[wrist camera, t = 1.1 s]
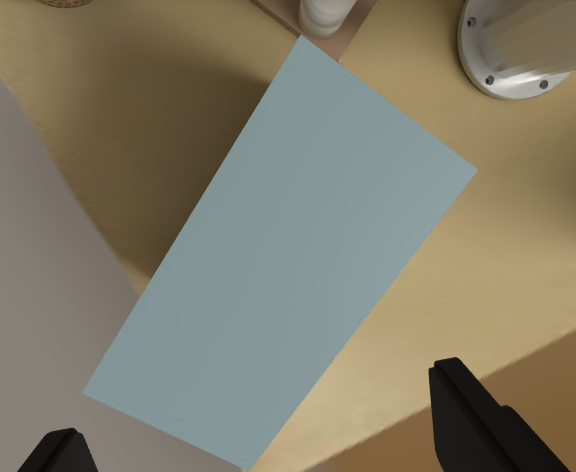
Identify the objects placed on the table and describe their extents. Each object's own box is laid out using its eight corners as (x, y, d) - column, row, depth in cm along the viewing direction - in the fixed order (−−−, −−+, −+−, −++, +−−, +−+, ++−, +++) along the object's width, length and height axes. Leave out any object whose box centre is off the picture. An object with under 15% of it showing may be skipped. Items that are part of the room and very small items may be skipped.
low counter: (283, 88, 34) (300, 34, 17) (381, 158, 36) (478, 169, 20) (160, 286, 38) (81, 393, 22) (255, 338, 40) (249, 471, 24)
